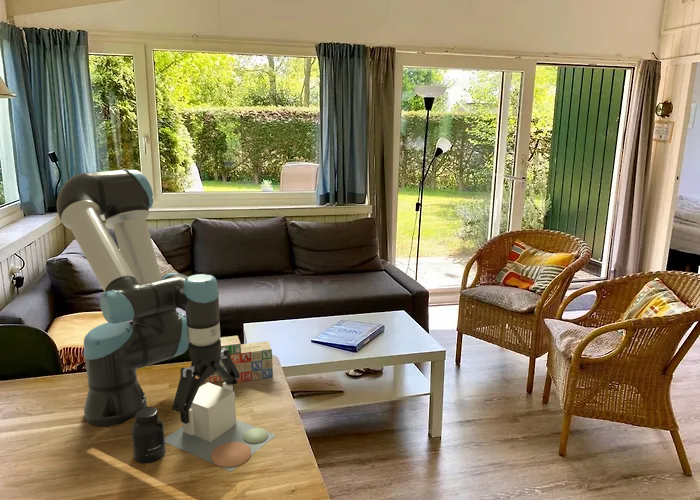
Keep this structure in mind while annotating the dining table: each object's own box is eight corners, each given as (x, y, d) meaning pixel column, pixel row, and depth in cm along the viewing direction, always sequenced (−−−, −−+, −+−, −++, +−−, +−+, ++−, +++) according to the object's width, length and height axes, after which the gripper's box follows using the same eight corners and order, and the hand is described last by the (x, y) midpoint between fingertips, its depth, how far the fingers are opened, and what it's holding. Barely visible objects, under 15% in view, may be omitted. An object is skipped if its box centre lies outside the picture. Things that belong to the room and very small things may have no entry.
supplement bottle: (155, 470, 122) (151, 422, 119) (128, 466, 123) (122, 418, 120) (171, 451, 128) (167, 405, 125) (145, 447, 130) (140, 402, 127)
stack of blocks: (269, 368, 169) (268, 331, 166) (273, 378, 164) (271, 339, 160) (198, 378, 163) (195, 339, 160) (198, 388, 157) (196, 348, 154)
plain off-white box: (183, 430, 135) (180, 397, 132) (210, 413, 142) (207, 382, 140) (210, 442, 130) (208, 408, 128) (236, 423, 138) (234, 391, 135)
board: (161, 444, 131) (160, 425, 130) (210, 413, 144) (209, 395, 143) (232, 477, 120) (231, 456, 119) (278, 440, 133) (277, 421, 132)
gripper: (174, 364, 118) (182, 450, 123) (251, 325, 138) (254, 401, 144) (150, 356, 121) (159, 440, 127) (229, 319, 142) (233, 393, 148)
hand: (209, 419), depth 135 cm, fingers open, 13 cm apart
